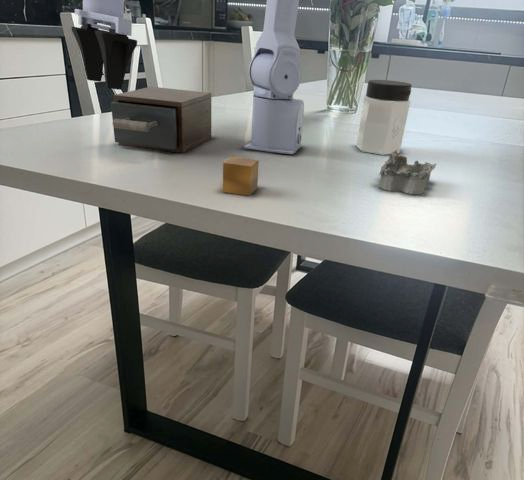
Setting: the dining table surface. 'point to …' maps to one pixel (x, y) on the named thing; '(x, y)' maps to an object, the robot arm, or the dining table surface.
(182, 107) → the cabinet
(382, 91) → the jar
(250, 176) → the block
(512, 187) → the dining table surface
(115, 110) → the drawer
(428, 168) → the egg carton
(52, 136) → the dining table surface
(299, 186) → the dining table surface
